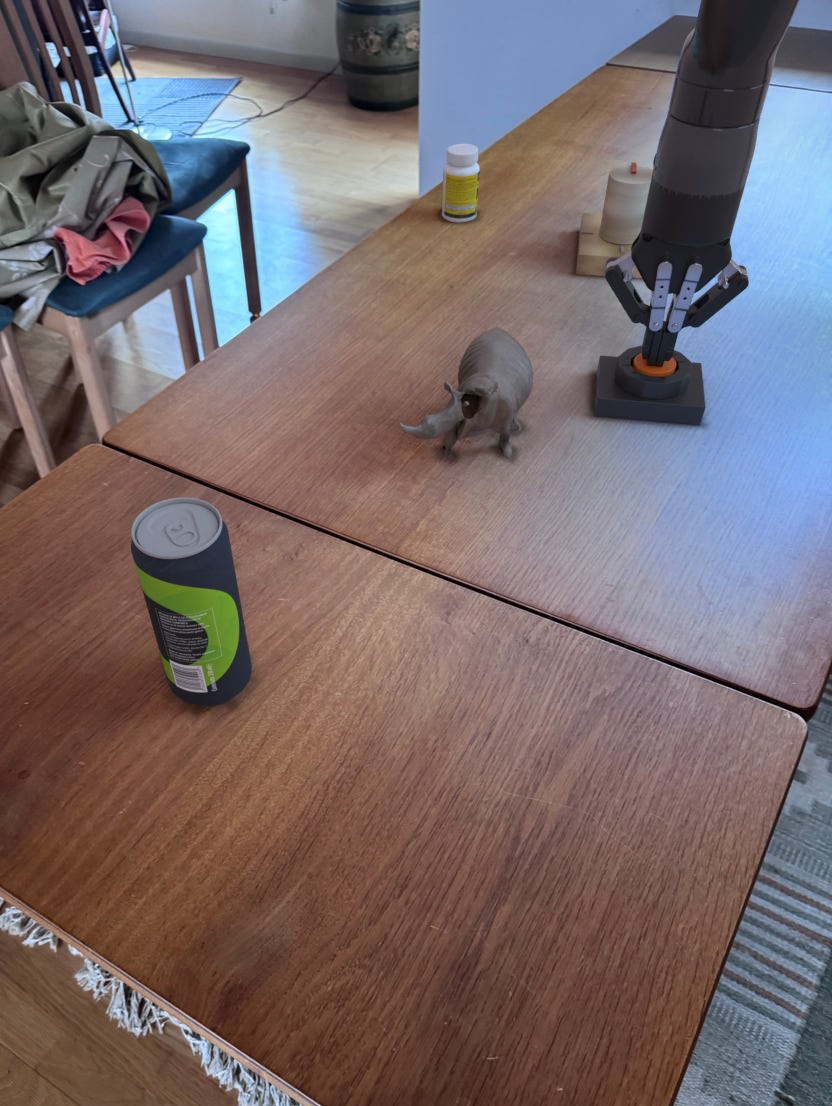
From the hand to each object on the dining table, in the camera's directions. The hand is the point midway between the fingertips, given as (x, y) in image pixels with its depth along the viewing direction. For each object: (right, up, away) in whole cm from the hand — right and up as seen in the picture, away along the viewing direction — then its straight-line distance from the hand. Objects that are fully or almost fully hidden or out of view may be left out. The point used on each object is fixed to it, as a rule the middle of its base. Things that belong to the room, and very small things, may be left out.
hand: (654, 361), depth 88 cm
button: (0, -1, +1) cm, 2 cm away
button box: (0, -3, +3) cm, 4 cm away
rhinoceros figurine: (-17, -8, -1) cm, 19 cm away
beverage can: (-40, -30, -20) cm, 54 cm away
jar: (+4, +23, +23) cm, 32 cm away
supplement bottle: (-15, +30, +34) cm, 48 cm away
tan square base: (+4, +21, +25) cm, 33 cm away
